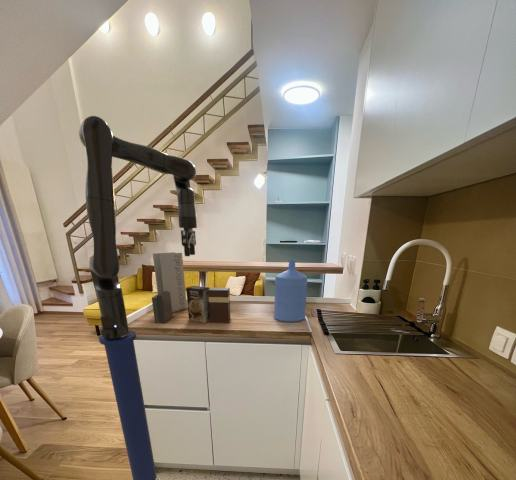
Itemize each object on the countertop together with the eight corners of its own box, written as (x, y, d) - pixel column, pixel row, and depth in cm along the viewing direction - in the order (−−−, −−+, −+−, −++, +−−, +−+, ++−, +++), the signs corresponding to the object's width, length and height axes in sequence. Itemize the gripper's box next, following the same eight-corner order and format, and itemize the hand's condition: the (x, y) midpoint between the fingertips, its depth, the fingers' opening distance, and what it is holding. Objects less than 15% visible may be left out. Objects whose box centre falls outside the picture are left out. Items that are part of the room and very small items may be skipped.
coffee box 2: (228, 322, 133) (227, 290, 128) (210, 322, 134) (208, 290, 128) (230, 319, 139) (229, 287, 133) (212, 318, 139) (210, 287, 133)
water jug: (310, 320, 137) (315, 261, 127) (281, 323, 132) (283, 262, 122) (296, 312, 151) (299, 259, 140) (269, 315, 146) (270, 259, 136)
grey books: (165, 323, 132) (161, 295, 127) (154, 322, 132) (151, 295, 127) (172, 316, 142) (169, 291, 137) (163, 316, 142) (159, 290, 138)
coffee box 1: (188, 321, 135) (185, 287, 129) (195, 317, 141) (193, 285, 135) (204, 323, 132) (202, 289, 126) (211, 319, 138) (209, 286, 132)
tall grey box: (166, 313, 147) (159, 254, 136) (159, 312, 150) (152, 253, 139) (186, 308, 158) (182, 252, 147) (180, 306, 161) (174, 252, 150)
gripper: (183, 216, 126) (186, 254, 132) (173, 214, 113) (176, 256, 119) (200, 217, 126) (202, 254, 132) (191, 215, 113) (194, 256, 119)
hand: (190, 255), depth 126 cm, fingers open, 8 cm apart
